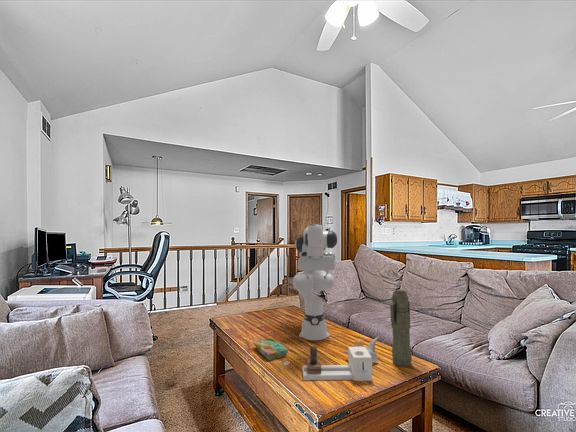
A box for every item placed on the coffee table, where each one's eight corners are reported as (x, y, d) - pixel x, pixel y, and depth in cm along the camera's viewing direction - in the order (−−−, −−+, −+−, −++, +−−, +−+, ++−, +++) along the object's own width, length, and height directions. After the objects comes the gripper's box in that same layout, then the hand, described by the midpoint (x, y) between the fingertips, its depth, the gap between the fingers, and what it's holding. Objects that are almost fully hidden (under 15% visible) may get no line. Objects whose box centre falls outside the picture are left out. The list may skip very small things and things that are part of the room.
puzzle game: (267, 352, 154) (252, 340, 172) (267, 362, 154) (253, 348, 172) (287, 348, 160) (271, 336, 177) (288, 357, 159) (271, 344, 177)
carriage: (306, 365, 143) (306, 344, 143) (319, 365, 143) (319, 344, 143) (307, 373, 136) (307, 350, 136) (321, 372, 136) (320, 350, 136)
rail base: (302, 368, 145) (302, 347, 146) (365, 368, 145) (365, 346, 145) (303, 382, 132) (303, 358, 133) (372, 381, 132) (372, 358, 133)
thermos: (386, 363, 150) (384, 291, 152) (401, 357, 157) (399, 288, 158) (402, 369, 143) (400, 294, 144) (417, 363, 150) (414, 291, 151)
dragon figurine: (353, 351, 166) (350, 334, 166) (381, 353, 160) (379, 335, 160) (347, 366, 152) (344, 347, 152) (378, 368, 146) (376, 349, 146)
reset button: (354, 343, 142) (353, 338, 142) (362, 342, 142) (362, 338, 142) (355, 346, 138) (355, 341, 138) (364, 346, 138) (364, 341, 138)
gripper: (335, 253, 166) (336, 278, 164) (298, 253, 171) (299, 278, 169) (334, 252, 160) (335, 279, 158) (296, 253, 165) (296, 279, 163)
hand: (316, 279), depth 163 cm, fingers open, 8 cm apart
